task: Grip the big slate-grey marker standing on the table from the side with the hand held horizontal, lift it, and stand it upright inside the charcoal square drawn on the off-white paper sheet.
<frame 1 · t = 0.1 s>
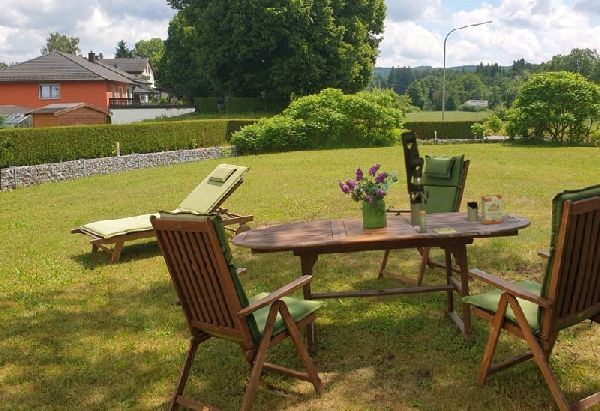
hand: (419, 204, 451), 17 cm above the table, tool pointing down, fingers open, 8 cm apart
paper sheet: (444, 231, 424), on the table
cracker box: (492, 223, 444), on the table
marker: (423, 232, 424), on the table
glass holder: (476, 221, 461), on the table
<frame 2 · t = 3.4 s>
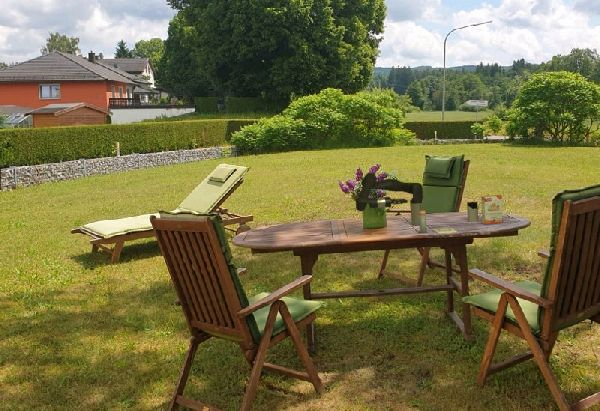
hand: (406, 200, 422), 24 cm above the table, tool horizontal, fingers open, 8 cm apart
nothing on the table moved.
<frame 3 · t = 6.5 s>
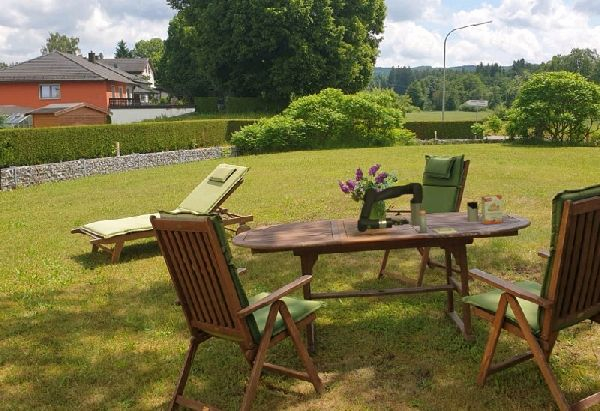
hand: (407, 221, 423), 9 cm above the table, tool horizontal, fingers open, 8 cm apart
nothing on the table moved.
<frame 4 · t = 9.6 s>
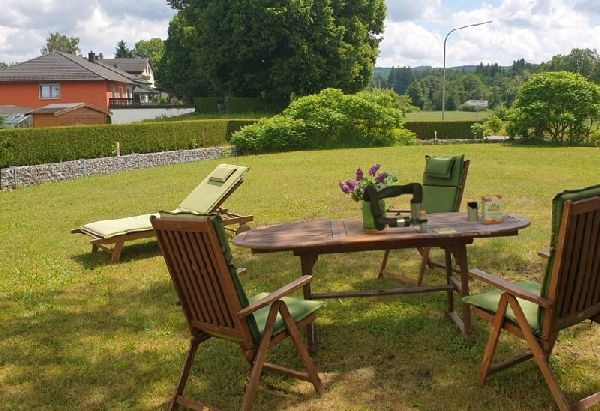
hand: (426, 220, 423), 9 cm above the table, tool horizontal, fingers closed on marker, 4 cm apart
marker: (423, 232, 424), on the table, touching gripper
everything else where it was.
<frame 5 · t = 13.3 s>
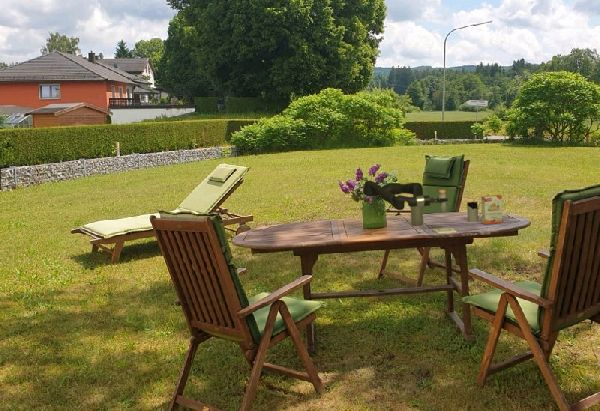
hand: (446, 199, 422), 23 cm above the table, tool horizontal, fingers closed on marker, 4 cm apart
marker: (443, 212, 423), point 14 cm above the table, touching gripper
everything else where it was.
when the fingers open (10 cm above the table, at t = 17.0 s): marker stays where it is, resting on paper sheet.
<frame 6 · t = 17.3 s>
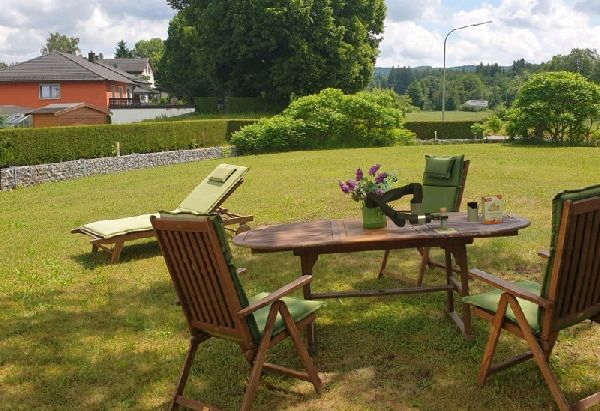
hand: (446, 216, 423), 11 cm above the table, tool horizontal, fingers open, 6 cm apart
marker: (444, 229, 424), point 1 cm above the table, touching paper sheet
everything else where it was.
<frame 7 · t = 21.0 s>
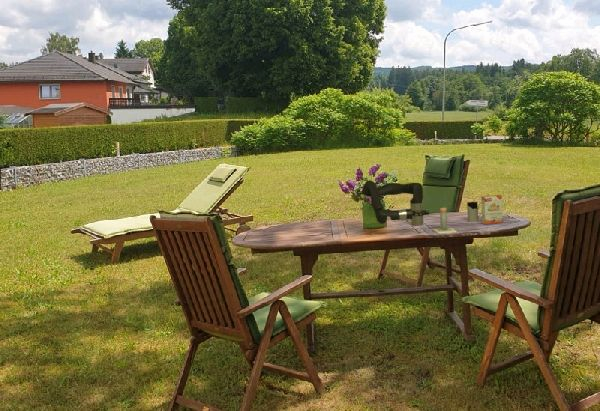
hand: (427, 212, 423), 15 cm above the table, tool horizontal, fingers open, 8 cm apart
nothing on the table moved.
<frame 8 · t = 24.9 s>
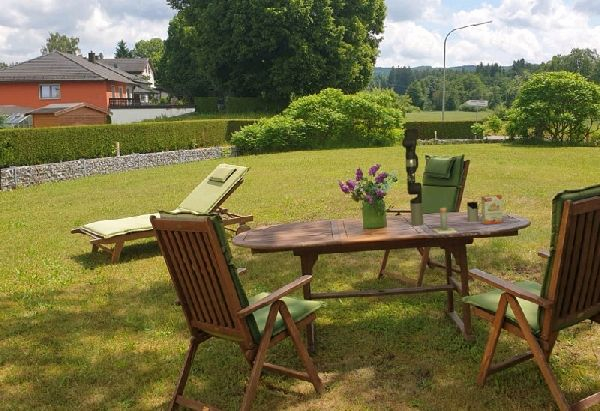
hand: (412, 187, 433), 32 cm above the table, tool pointing down, fingers open, 8 cm apart
nothing on the table moved.
at the end: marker 0.1 cm off-centre on the paper sheet, point 1.0 cm above the paper sheet's base; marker tilted 0°; the gripper is holding nothing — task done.
